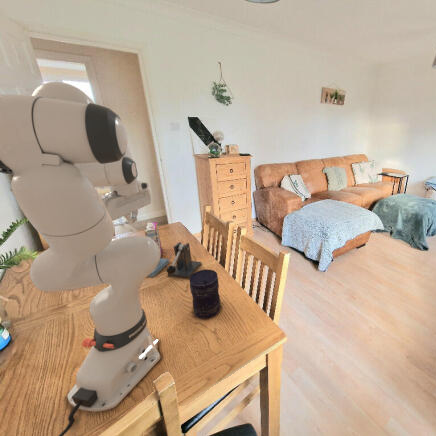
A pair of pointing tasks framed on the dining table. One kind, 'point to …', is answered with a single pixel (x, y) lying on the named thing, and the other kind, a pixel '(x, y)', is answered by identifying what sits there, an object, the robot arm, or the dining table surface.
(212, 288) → the storage jar
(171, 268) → the power lever
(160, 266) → the panel
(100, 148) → the robot arm
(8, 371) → the dining table surface
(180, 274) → the switch bracket
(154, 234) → the candy bar box
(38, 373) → the dining table surface
